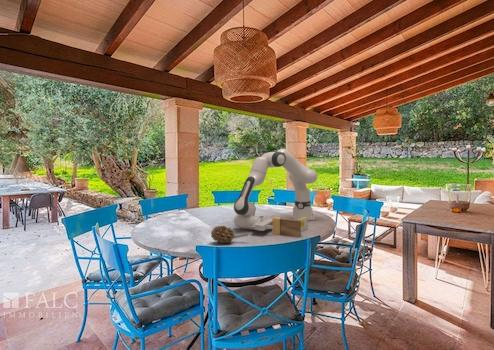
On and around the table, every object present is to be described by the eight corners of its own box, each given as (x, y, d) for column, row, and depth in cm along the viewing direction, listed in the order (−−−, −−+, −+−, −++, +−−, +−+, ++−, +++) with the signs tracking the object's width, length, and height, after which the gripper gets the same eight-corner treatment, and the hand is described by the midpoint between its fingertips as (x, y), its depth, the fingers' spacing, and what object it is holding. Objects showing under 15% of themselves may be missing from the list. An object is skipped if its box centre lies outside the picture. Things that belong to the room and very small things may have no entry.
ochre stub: (274, 232, 182) (274, 217, 181) (281, 233, 179) (281, 217, 179) (272, 233, 179) (272, 218, 178) (279, 234, 177) (279, 218, 176)
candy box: (305, 228, 192) (305, 216, 191) (307, 229, 190) (308, 217, 190) (292, 234, 179) (292, 221, 178) (295, 234, 178) (295, 221, 177)
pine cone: (210, 246, 156) (210, 228, 156) (211, 240, 166) (211, 224, 165) (250, 244, 159) (250, 227, 158) (248, 239, 168) (248, 223, 167)
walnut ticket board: (282, 233, 180) (282, 218, 179) (300, 236, 174) (300, 219, 174) (280, 235, 176) (280, 219, 175) (298, 237, 171) (298, 221, 170)
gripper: (249, 221, 176) (270, 224, 170) (262, 215, 194) (282, 217, 188) (249, 231, 176) (270, 234, 170) (262, 224, 195) (282, 226, 188)
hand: (276, 225), depth 179 cm, fingers open, 8 cm apart
